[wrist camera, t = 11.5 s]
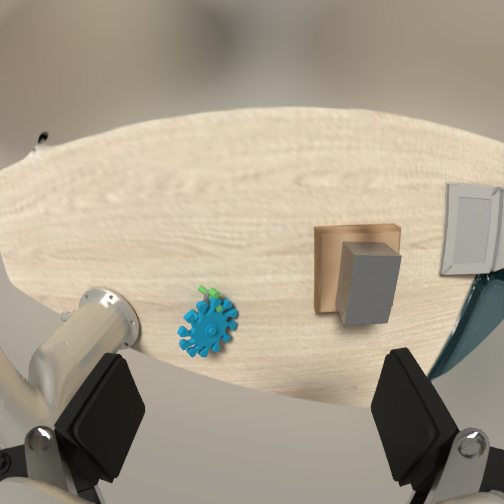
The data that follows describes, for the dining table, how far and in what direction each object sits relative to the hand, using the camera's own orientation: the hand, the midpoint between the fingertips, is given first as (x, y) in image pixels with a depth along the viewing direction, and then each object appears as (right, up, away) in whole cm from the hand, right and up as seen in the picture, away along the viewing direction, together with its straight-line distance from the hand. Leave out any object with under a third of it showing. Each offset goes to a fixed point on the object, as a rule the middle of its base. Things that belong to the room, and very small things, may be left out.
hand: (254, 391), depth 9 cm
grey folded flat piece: (+41, +9, +27) cm, 50 cm away
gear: (-6, -4, +33) cm, 34 cm away
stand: (+15, +3, +29) cm, 33 cm away
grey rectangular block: (+14, +2, +27) cm, 30 cm away
